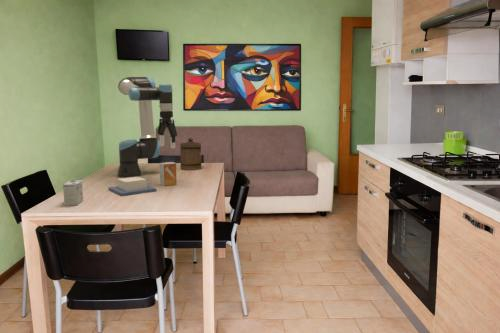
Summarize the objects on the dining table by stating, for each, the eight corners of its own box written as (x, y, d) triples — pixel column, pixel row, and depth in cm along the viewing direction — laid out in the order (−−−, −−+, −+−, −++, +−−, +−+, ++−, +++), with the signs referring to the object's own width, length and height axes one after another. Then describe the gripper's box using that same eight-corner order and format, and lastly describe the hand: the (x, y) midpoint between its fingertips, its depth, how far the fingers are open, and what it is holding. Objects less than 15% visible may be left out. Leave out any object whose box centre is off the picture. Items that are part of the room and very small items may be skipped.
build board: (108, 190, 269) (107, 178, 268) (141, 185, 280) (141, 174, 279) (122, 196, 253) (121, 184, 252) (156, 191, 265) (156, 179, 264)
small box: (164, 186, 278) (163, 164, 276) (160, 184, 284) (159, 162, 282) (177, 184, 283) (176, 163, 281) (172, 183, 288) (171, 161, 286)
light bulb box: (70, 200, 243) (68, 180, 241) (83, 200, 244) (82, 179, 242) (63, 205, 232) (62, 184, 231) (78, 205, 233) (76, 183, 231)
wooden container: (205, 167, 343) (204, 137, 340) (192, 170, 331) (191, 139, 327) (189, 166, 351) (188, 136, 347) (176, 169, 339) (175, 138, 335)
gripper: (150, 110, 284) (152, 145, 287) (170, 111, 264) (171, 149, 268) (162, 109, 288) (163, 144, 292) (182, 111, 269) (183, 148, 272)
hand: (167, 147), depth 280 cm, fingers open, 13 cm apart
